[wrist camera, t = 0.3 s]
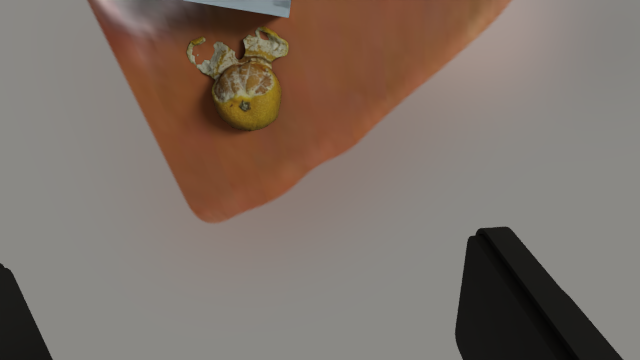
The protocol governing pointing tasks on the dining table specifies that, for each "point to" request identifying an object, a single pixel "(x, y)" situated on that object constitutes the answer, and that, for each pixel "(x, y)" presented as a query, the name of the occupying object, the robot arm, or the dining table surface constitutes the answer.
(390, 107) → the dining table surface
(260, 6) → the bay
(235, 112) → the fruit
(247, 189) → the dining table surface
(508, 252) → the robot arm
